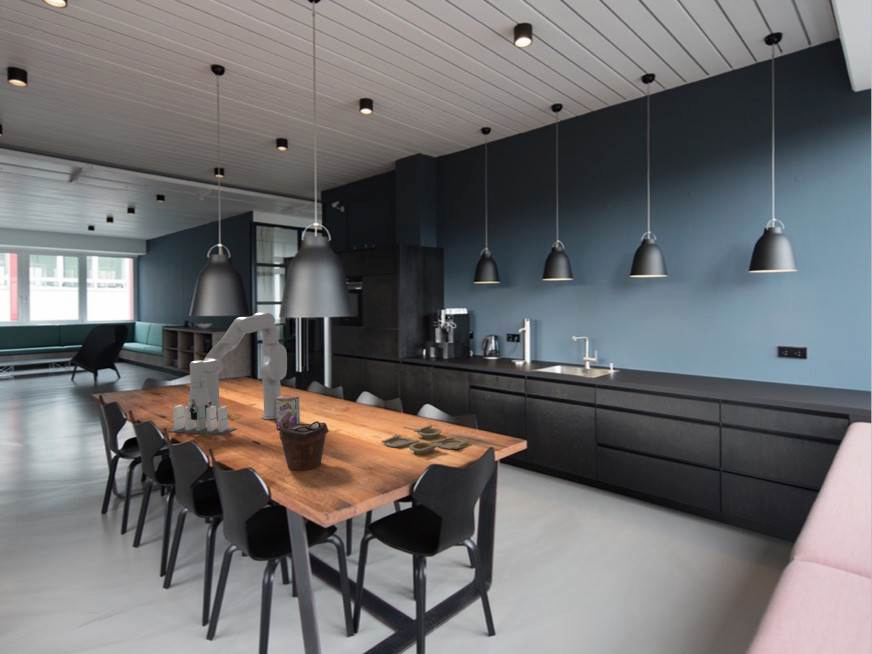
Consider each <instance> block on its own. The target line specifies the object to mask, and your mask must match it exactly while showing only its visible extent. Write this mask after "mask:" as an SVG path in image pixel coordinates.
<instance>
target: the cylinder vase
mask: <svg viewBox="0 0 872 654" xmlns="http://www.w3.org/2000/svg"><path fill="white" fill-rule="evenodd" d="M206 375H207V387H208V392H209V397H210V398H212V401H211V405H210V407H211V406H216V413H218V411H217V408H220V407H221V403H220V402H221V401H220V400H221V399H220V381H219V380H220V379H219V373H217V374H206Z"/></svg>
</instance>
